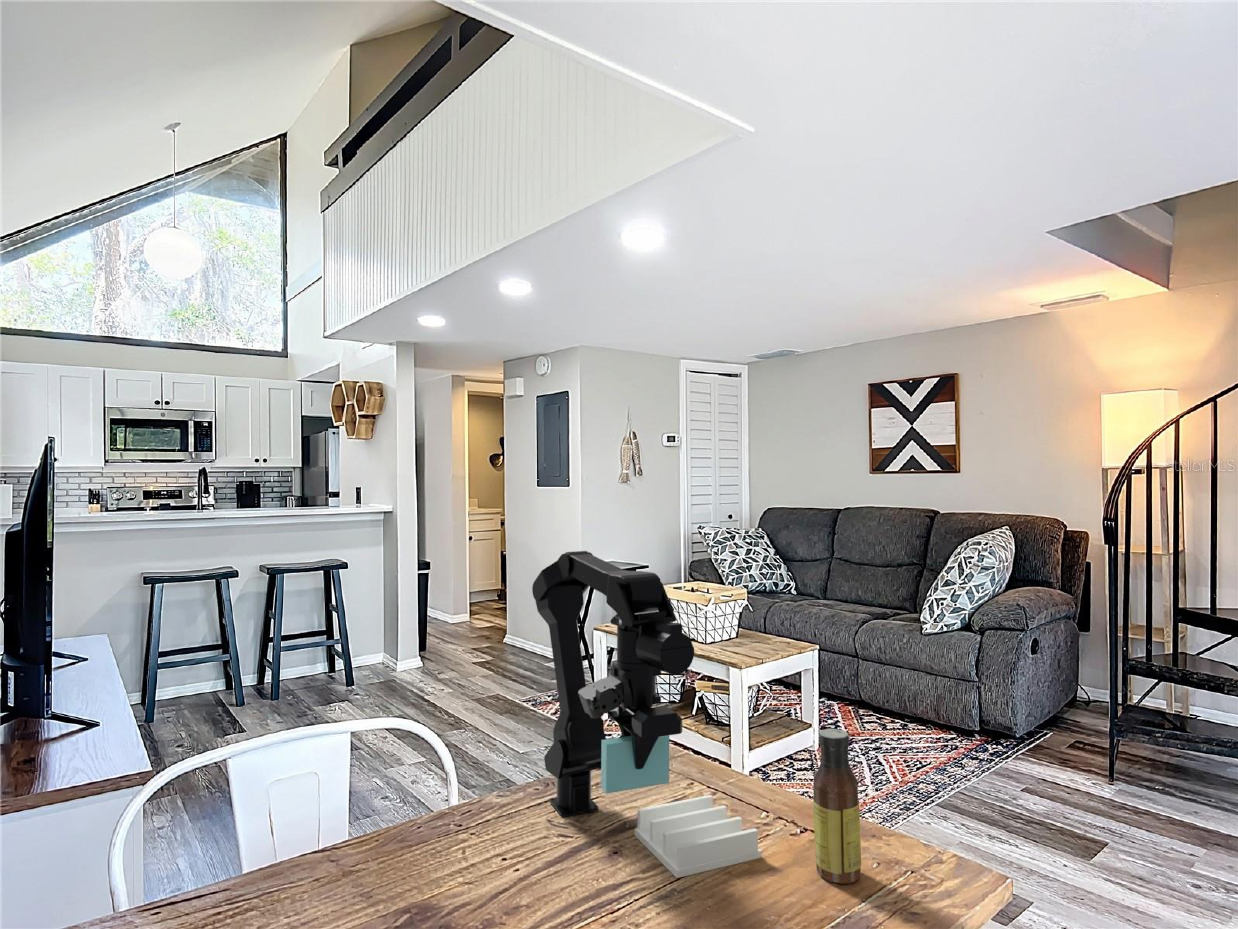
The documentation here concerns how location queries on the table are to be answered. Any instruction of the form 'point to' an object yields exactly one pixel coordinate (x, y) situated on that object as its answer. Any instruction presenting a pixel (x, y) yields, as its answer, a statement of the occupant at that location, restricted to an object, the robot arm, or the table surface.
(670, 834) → the dish rack
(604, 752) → the light blue block
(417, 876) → the table surface
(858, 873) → the sauce bottle
